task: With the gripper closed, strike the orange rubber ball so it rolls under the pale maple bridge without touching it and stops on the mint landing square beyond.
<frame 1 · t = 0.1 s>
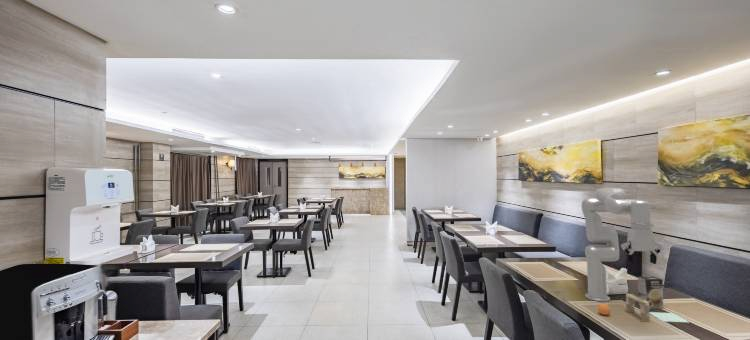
hand: (641, 263, 164), 31 cm above the table, tool pointing down, fingers open, 9 cm apart
coffee box: (651, 307, 193), on the table
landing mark: (667, 317, 178), on the table
bridge: (637, 316, 180), on the table
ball: (604, 309, 182), on the table
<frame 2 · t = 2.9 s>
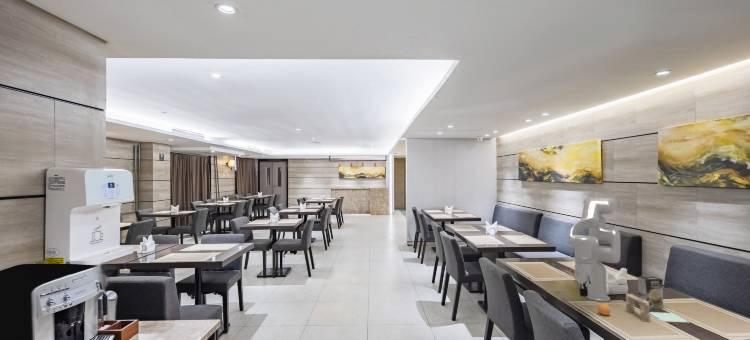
hand: (583, 295, 183), 10 cm above the table, tool pointing down, fingers closed
nothing on the table moved.
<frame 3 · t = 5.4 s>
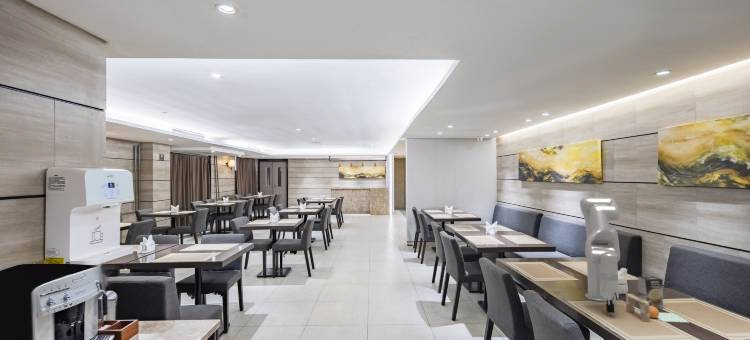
hand: (610, 312, 182), 2 cm above the table, tool pointing down, fingers closed
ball: (652, 312, 178), on the table
everything else where it was.
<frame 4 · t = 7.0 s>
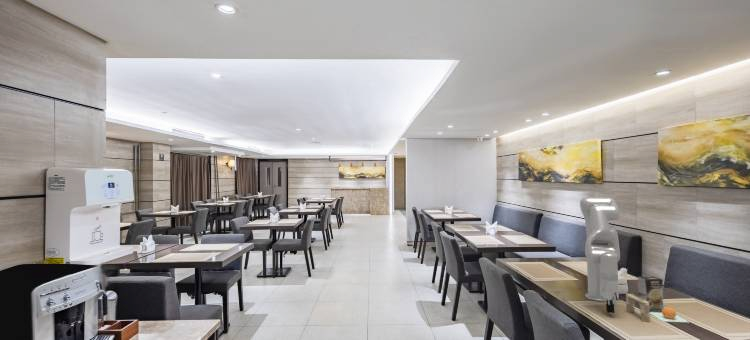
hand: (610, 312, 182), 2 cm above the table, tool pointing down, fingers closed
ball: (668, 312, 177), on the table
everything else where it was.
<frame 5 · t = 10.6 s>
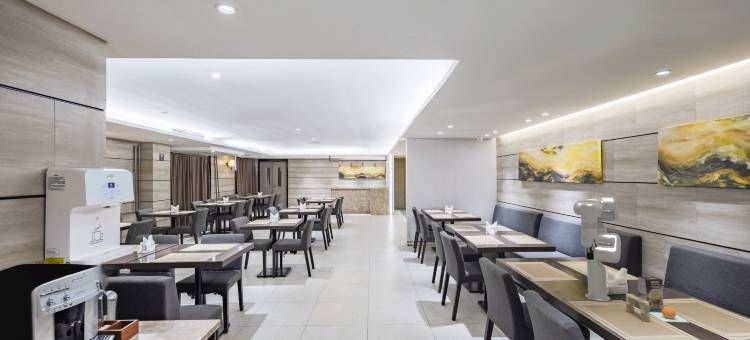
hand: (590, 259, 191), 27 cm above the table, tool pointing down, fingers closed
nothing on the table moved.
at the end: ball 1.5 cm from the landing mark (horizontally); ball never touched bridge; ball at rest at the end (0.0 cm/s) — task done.
